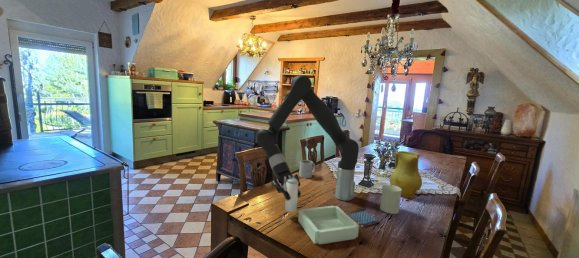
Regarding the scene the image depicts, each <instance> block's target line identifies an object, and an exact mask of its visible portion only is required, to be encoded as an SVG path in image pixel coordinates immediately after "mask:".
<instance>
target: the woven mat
mask: <svg viewBox="0 0 579 258" xmlns="http://www.w3.org/2000/svg"><path fill="white" fill-rule="evenodd" d="M347 215H348V216H349V217H350V218H351V219H352V220H353V221H354V222H356V223H357V224H358V225H359V227H360V226H361V228H364V227H365V228H366V227H367V226H371V225H374V224H378V223H379V219H377V218H376V217H374V216H372V215H371V214H370V213H367V212H366V211H365V210H361V211H358V212H353V213H348V214H347Z"/></svg>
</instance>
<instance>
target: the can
mask: <svg viewBox="0 0 579 258" xmlns="http://www.w3.org/2000/svg"><path fill="white" fill-rule="evenodd" d="M381 188H382V189H381V198H380V206H379V209H380V210H381V211H382V212H385V213H387V214H392V215H393V214H394V215H395V214H399V212H400V203H401V198H402V196H401V191H402V189H401V188H399V187H397V186H394V185H390V184H383V185H382V186H381Z"/></svg>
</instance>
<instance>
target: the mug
mask: <svg viewBox="0 0 579 258" xmlns="http://www.w3.org/2000/svg"><path fill="white" fill-rule="evenodd" d="M298 170H299V174H298V177H300V178H302V179H311V178H312V177H313V174H314V173H315V171H316V164H315V163H314V162H313V161H312V160H309V159H301V160H300V161H299V169H298Z"/></svg>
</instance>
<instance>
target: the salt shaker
mask: <svg viewBox="0 0 579 258" xmlns="http://www.w3.org/2000/svg"><path fill="white" fill-rule="evenodd" d="M286 188H287V191H288V193H289V196H290V198H291V199H290V200H288V201H287V200H286V199H285V205H284V206H285V207H284V210H285V211H286V212H290V213H294V212H295V213H296V212H297V210H298V198H299V197H298V189H299V187H298V181H297V179H295V178H289V179H288V180H287V181H286Z"/></svg>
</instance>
